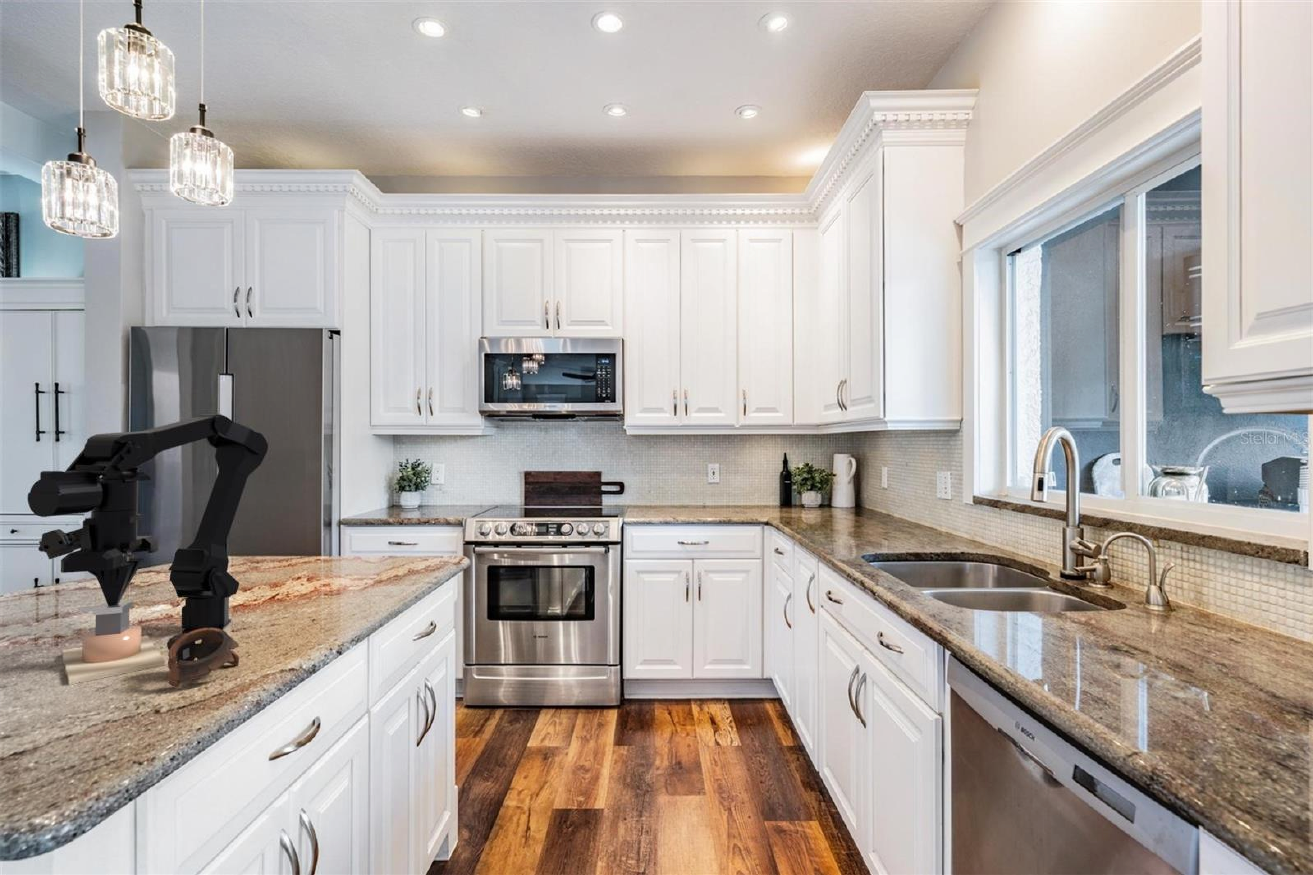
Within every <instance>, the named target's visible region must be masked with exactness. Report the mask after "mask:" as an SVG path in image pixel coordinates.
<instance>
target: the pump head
mask: <svg viewBox="0 0 1313 875" xmlns="http://www.w3.org/2000/svg"><path fill="white" fill-rule="evenodd" d="M132 608H133V600H130V601H129V600H128V601H120V602H119V604H117V605H113V606H108V604H107V602H103V603H102V604H100V605H99V604H98V605H87V606H79V607H77V613H81V612H92V614H91V615H92V616H96V615H103V614H116V613H123V612H125V611H127V610H128V609H129V610H130V609H132Z"/></svg>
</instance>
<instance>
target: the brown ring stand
mask: <svg viewBox="0 0 1313 875" xmlns="http://www.w3.org/2000/svg"><path fill="white" fill-rule="evenodd" d="M198 641H200V643H199V642H198ZM196 642H198V643H196ZM166 646H167V649H168V655H167V657H168V661H167V666H168V669H169V673H168V678H167V681H168V684H169V685H170V686H171V687H173V688H175V687H177V688H178V687H179V686H180V683H184V682H188V681H191V680H194V679H198V678H201V677H204V676H208V675H209V674H211V671H213V672H215V671H216V670H219V669H220V667H221V668H222V666H223V665H225V664H226V663H227V664H230V665H232V666H234V667H235V666H237V667H239V666H238V665H239V663H240V655H239V654H237V653H236V652H235V651H233V650H234V649H236V648H239V647H240V644H239V643H238V642H236V640H234V638H233V637H232V636H231V635H229V633H227V632H226V631H225V630H224V629H223V630H221V629H218V628H202V629H198V630H194V631H192V632H189V633H187V634H181V633H178V634H174V635H172V637H171V638H169V639H168V640H167V642H166Z"/></svg>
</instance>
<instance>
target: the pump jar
mask: <svg viewBox="0 0 1313 875" xmlns="http://www.w3.org/2000/svg"><path fill="white" fill-rule="evenodd" d="M141 637H142V626H140V625H133V624H132V625H131V624H130V609H128V610H127V611H125V612H123V613H116V614H103V615H95V630H92V631H89V632H86V633H84V634H83V635H82V637H81V640H82V641H81V642H82V643H81V647H82V662H85V663H103V662H110V661H116V660H120V659H124V658H128V657H131V656H134V655H136V654H138V653H140V652H141Z"/></svg>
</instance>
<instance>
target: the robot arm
mask: <svg viewBox="0 0 1313 875" xmlns="http://www.w3.org/2000/svg"><path fill="white" fill-rule="evenodd" d="M201 440H205V442H206V443H207V445H208V446H210V447H211V448H213V449H215V450H216V451H215V454H214V459H215V462H216V465H217V468H218V472H217V475H216V478H215V482H214V485H213V487H212V490H211V492H210V495H209V498H208V500H207V504H206V506H205V510H204V513H203V515H202V518H201V521H200V523H199V527H198V530H197V532H196V536H195V538H194V540H193V542H191V544H190V545H188V546H187V548H178V549H176V550H175V553H174V558H173V561H172V563H171V565H170V567H169V568H168V571H170V573H169V582H171V583H172V584H171V585H172V586H173V587H174V592H175V594H176V596H177V598H181V599H182V598H185V600H184V603H185V604H184V605H183V606H182V607H181V629H182V630H181V633H180V634H187V633H189V632H192V631H194V630H198V629H202V628H218V629H221V630H223V631H224V630H225V628H226V627H228V625H229V624H231V623H232V618H229V617H230V616H229V615H230V613H229V612H230V598H231V597H232V596H233V595H234V596H235V595H237V593H238V590H239V586H240V582H239V581H238V580H237V579H236V578H235V577H234V576H232V574H230V573H229V572H228V569H229V564H230V559H229V555H228V552H227V548H226V543H227V540H228V537H229V534H230V531H231V529H232V524H233V521H234V518H235V516H236V512H237V510H238V507H239V504H240V501H241V498H242V495H243V492H244V489H245V487H246V486H245V485H246V483H247V479H248V478H249V476H250V475H251V474H252V473H253V472H254V471H256V470H257V469H258V468H259V467H260V466H261V465H262V463H263V460H264V458H265V456H266V455H267V453H268V448H269V443H268V442H267V441H268V440H266V438H265V436H264V435H263V434H262V433H260V432H257V431H254V429H252V428H250V427H247V426H245V425H243V424H240V423H238V422H235V421H233V420H232V419H230V418H229V417H227V416H225V415H223V414H221V413H220V414H219V413H218V414H217V413H215V414H213V413H211V414H209V413H207V414H199V415H197V416H196V417H192V418H188V419H184V420H181V421H176V422H172V423H167V424H165V425H161V426H156V427H152V428H148V429H145V430H140V431H125V432H123V431H121V432H110V433H109V432H107V433H98V434H93V435H92V436H90V437H89V438H87V439H86V442H85V444H84V447H83V449H82V450H81V452H80V453H79V454H78V455H77V457H76V458H75V459H74V460H73V461H72V462H71V464H69V466H68V467H67V468H66V470H65V471H61V470H60V471H59V470H42V471H40V474H39V475H40V476H39V479H38V480H37V481H35V482H34V484H33V485H32V486H31V487H30V491H29V492H28V493H27V503H28V507H29V509H30V510H31V512H32V513H33V514H34V515H36V516H37V517H41V518H48V517H56V516H57V517H58V516H59V517H60V516H68V515H69V516H71V515H77V514H86V513H90V517H86V518H84V520H82V527H81V528H79V529H75V530H72V531H68V532H64V531H63V530H61V529H59V528H58V529H54V530H51V531H47V532H44V533H42V534H41V539H40V540H39V541H38V543H39V546H38V547H37V548H38V549H37V550H38V551H39V552H41V553H42V552H44V553H45V554H46V556H47V558H48V560H52V559H56V558H58V557H61V556H64V555H65V556H64V557H63V558H62V559H60V573H61V574H63V573H82V572H88V573H89V574H92V576H94V577H96V580H97V582H98V584H99V586H100V588H101V592H102V593H103V594H102V595H103V596H104V599H105V601H106V602H105V603H107V604H108V606H113V605H117V604H119V602H121V600H122V599H123V596H124V595H125V593H126V591H127V589H128V587H129V585H130V583H131V582H132V580H133V578H134V576H135V575H136V573H137V571H138V569H139V568H140V566H141V564H142V563H143V562H144V561H145V558H144V557H139V558H137V557H136V558H135V554H132V553H137V552H139V553H140V552H147V553H148V554H153V553H155V552H157V551H159V540H158V539H157V538H156V537H155V536H153V535H138V522H139V521H143V513H138V506H139V504H138V500H139V499H138V498H139V493H138V492H139V482H150V481H151V480H152V477H151V476H150V475H149V474H148V473H146V472H144V471H143V470H142V469H141V468H140V466H142V465H144V464H146V463H148V462H150V461H152V460H153V459H155V457H156V456H157V455H158V454H160V453H161V452H162V453H163V452H164V451H167V450H170V449H174V448H177V447H180V446H183V445H184V446H185V445H187V444H190V443H194V442H198V441H201ZM75 550H76V551H75Z"/></svg>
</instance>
